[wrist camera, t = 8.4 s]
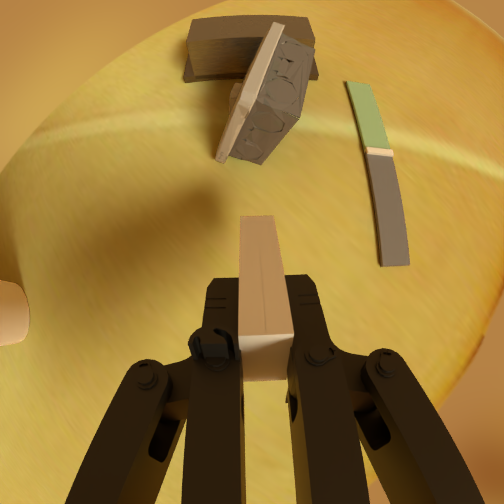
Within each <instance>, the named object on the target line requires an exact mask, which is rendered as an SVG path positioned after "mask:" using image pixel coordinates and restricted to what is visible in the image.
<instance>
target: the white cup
mask: <svg viewBox="0 0 504 504" xmlns="http://www.w3.org/2000/svg"><path fill="white" fill-rule="evenodd" d="M29 324H30V314H29V306H28V302H27V298H26V296H25V294H24V292H23V290H22V288H21V287H20V286H19V285H18V284H17V283H12V282H8V281H3V280H0V346H4V345H9V344H15V343H19V342H21V341H23V340H24V338H25V337H26V335H27V334H28V329H29Z"/></svg>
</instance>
